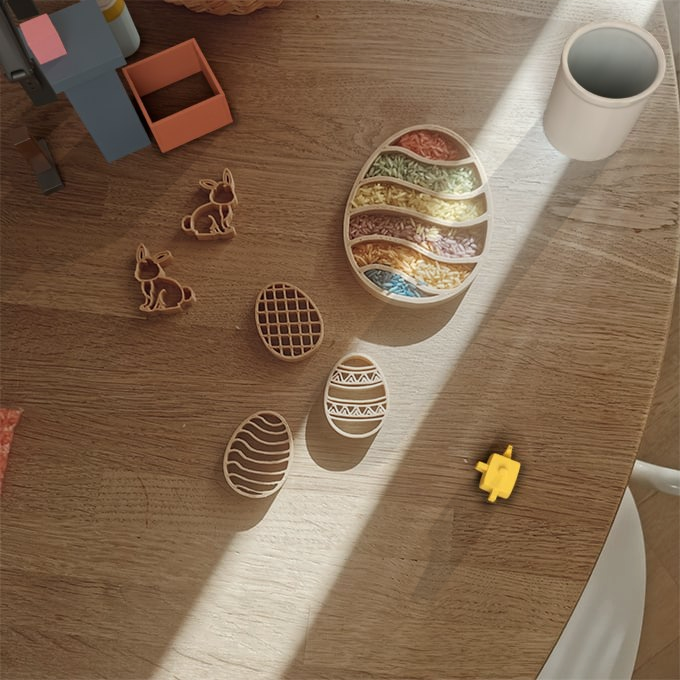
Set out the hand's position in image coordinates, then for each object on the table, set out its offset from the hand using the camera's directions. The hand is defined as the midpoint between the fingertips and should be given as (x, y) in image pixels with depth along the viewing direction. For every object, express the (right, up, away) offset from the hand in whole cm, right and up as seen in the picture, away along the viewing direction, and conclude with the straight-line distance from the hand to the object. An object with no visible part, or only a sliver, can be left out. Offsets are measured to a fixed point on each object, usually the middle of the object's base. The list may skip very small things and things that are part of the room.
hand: (37, 57), depth 89 cm
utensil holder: (+77, +1, +34) cm, 85 cm away
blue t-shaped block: (-1, 0, +38) cm, 38 cm away
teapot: (+59, -54, +16) cm, 81 cm away
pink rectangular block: (-5, +7, +15) cm, 18 cm away
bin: (+10, +5, +39) cm, 41 cm away
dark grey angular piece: (-13, -6, +37) cm, 40 cm away
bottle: (-3, +19, +45) cm, 49 cm away
